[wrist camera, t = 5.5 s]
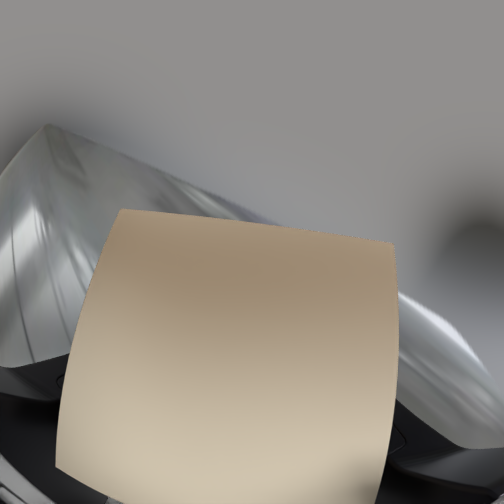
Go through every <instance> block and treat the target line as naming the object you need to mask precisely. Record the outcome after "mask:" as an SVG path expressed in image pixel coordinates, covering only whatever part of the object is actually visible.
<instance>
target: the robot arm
mask: <svg viewBox="0 0 504 504" xmlns="http://www.w3.org/2000/svg"><path fill="white" fill-rule="evenodd" d="M69 355H70V353H69V354H66V355H63V356H59V357H56V358H52V359H48V360H45V361H41V362H37V363H33V364H29V365H25V366H21V367H15V368H6V367H1V366H0V504H105V503H106V501H107V499H108V497H109V496H106V495H104V494H102V493H100V492H98V491H96V490H94V489H93V488H91V487H89V486H87V485H85V484H83V483H82V482H80V481H78V480H76V479H75V478H73V477H71V476H70V475H68V474H66V473H65V472H63V471H62V470H60V469H58V468H57V467H56V442H57V429H58V419H59V411H60V403H61V396H62V390H63V384H64V379H65V373H66V368H67V364H68V359H69ZM374 504H504V447H503V448H489V449H468V448H463V447H460V446H458V445H456V444H454V443H452V442H451V441H450V440H448V439H447V438H445V437H444V436H443V435H441V434H440V433H438V432H437V431H436V430H434V429H433V428H431V427H430V426H429V425H427V424H426V423H425V422H423V421H422V420H421V419H419V418H418V417H417V416H415V415H414V414H413V413H412V412H411V411H409V410H408V409H407V408H406V407H405V406H404V405H403V404H401V403H400V402H399V401H398V400H397V399H396V398H395V406H394V414H393V422H392V429H391V435H390V441H389V446H388V451H387V456H386V461H385V466H384V470H383V474H382V478H381V482H380V486H379V490H378V493H377V497H376V500H375V503H374Z"/></svg>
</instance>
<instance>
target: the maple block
mask: <svg viewBox="0 0 504 504" xmlns="http://www.w3.org/2000/svg"><path fill="white" fill-rule="evenodd" d="M398 351H399V309H398V287H397V274H396V262H395V252H394V244H393V243H387V242H381V241H375V240H369V239H363V238H356V237H350V236H343V235H337V234H330V233H324V232H317V231H310V230H302V229H296V228H289V227H281V226H274V225H266V224H259V223H251V222H243V221H235V220H226V219H218V218H209V217H200V216H191V215H182V214H172V213H162V212H152V211H141V210H130V209H120V211H119V213H118V215H117V218H116V220H115V222H114V224H113V226H112V229H111V231H110V233H109V236H108V238H107V240H106V243H105V245H104V248H103V250H102V252H101V255H100V258H99V260H98V263H97V265H96V268H95V271H94V273H93V276H92V279H91V282H90V285H89V288H88V291H87V294H86V297H85V300H84V303H83V306H82V309H81V313H80V316H79V320H78V323H77V327H76V330H75V334H74V338H73V342H72V346H71V350H70V355H69V359H68V364H67V368H66V373H65V379H64V384H63V390H62V396H61V403H60V411H59V419H58V429H57V442H56V467H57V468H58V469H60V470H62V471H63V472H65V473H66V474H68V475H70V476H71V477H73V478H75V479H76V480H78V481H80V482H82V483H83V484H85V485H87V486H89V487H91V488H93V489H94V490H96V491H98V492H100V493H102V494H104V495H106V496H109V497H111V498H113V499H115V500H117V501H119V502H122V503H124V504H374V503H375V500H376V497H377V493H378V490H379V486H380V482H381V478H382V474H383V470H384V466H385V461H386V456H387V451H388V446H389V441H390V435H391V429H392V422H393V414H394V406H395V397H396V386H397V373H398Z"/></svg>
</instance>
